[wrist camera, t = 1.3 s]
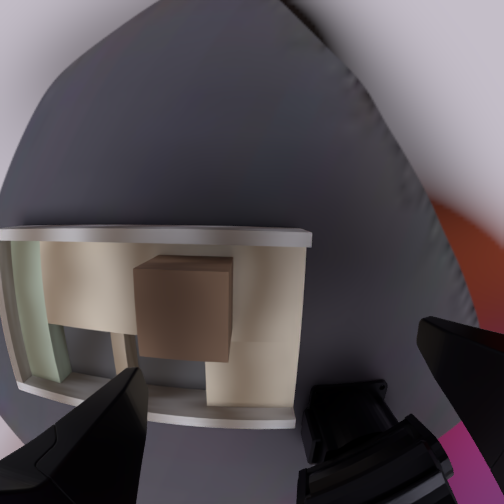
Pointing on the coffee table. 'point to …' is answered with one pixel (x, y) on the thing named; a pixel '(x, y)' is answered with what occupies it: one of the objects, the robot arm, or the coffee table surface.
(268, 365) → the grey slotted tray
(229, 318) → the walnut block
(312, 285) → the coffee table surface
